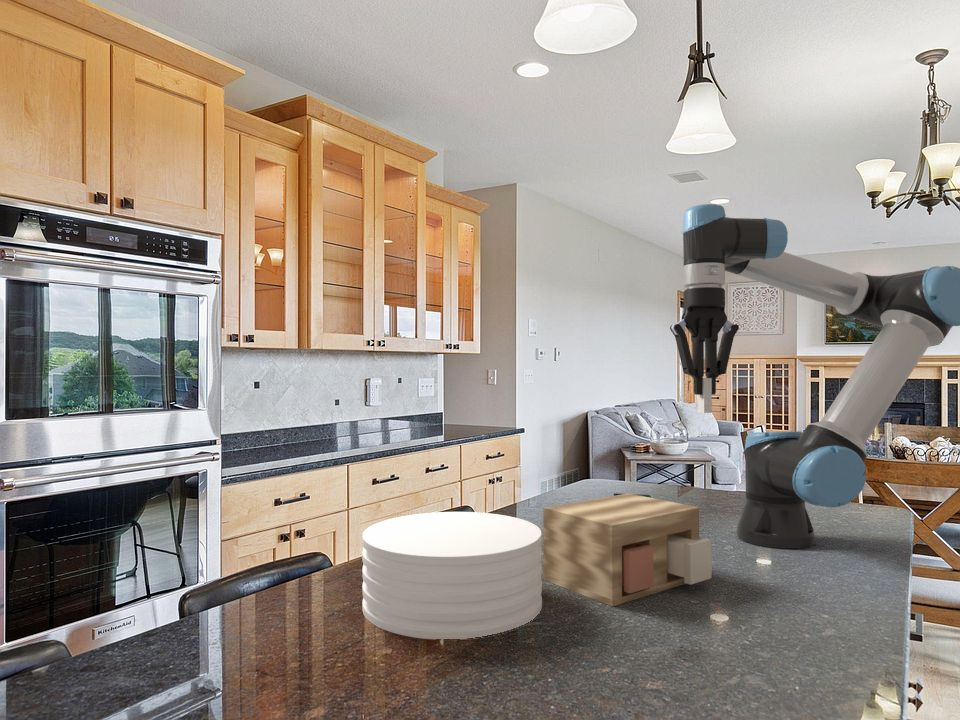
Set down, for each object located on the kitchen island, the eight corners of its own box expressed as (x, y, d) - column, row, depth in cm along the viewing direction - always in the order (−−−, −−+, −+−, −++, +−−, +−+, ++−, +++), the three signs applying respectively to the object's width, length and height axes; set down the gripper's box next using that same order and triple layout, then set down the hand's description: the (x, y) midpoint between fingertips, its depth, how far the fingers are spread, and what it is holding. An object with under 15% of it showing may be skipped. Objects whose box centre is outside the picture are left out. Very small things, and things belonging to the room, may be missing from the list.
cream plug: (711, 578, 110) (711, 539, 110) (690, 584, 107) (690, 545, 107) (631, 554, 124) (631, 520, 124) (611, 559, 121) (610, 524, 121)
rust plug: (653, 586, 106) (653, 546, 106) (629, 593, 103) (629, 552, 103) (577, 561, 120) (577, 525, 120) (554, 566, 117) (554, 530, 117)
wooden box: (699, 579, 115) (699, 507, 115) (612, 606, 102) (612, 525, 102) (628, 557, 128) (628, 493, 128) (543, 579, 115) (543, 507, 115)
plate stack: (578, 603, 104) (578, 530, 104) (446, 659, 84) (446, 569, 84) (456, 566, 124) (456, 504, 124) (326, 604, 104) (326, 531, 104)
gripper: (679, 285, 121) (679, 414, 121) (746, 286, 123) (747, 413, 122) (663, 290, 129) (664, 411, 129) (727, 290, 130) (728, 410, 130)
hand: (704, 412), depth 125 cm, fingers closed
